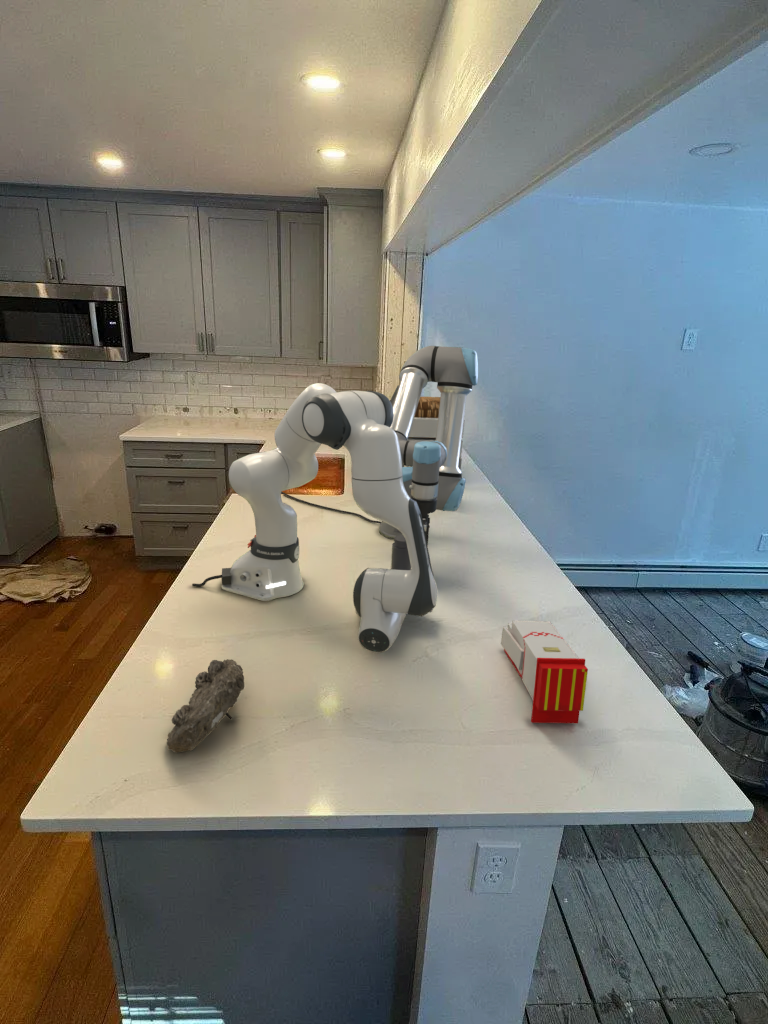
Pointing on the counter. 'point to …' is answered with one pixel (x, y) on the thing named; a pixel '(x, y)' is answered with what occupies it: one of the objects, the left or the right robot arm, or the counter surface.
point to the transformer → (426, 421)
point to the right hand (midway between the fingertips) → (418, 570)
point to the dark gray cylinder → (400, 554)
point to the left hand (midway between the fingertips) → (400, 582)
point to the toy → (547, 670)
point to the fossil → (206, 705)
